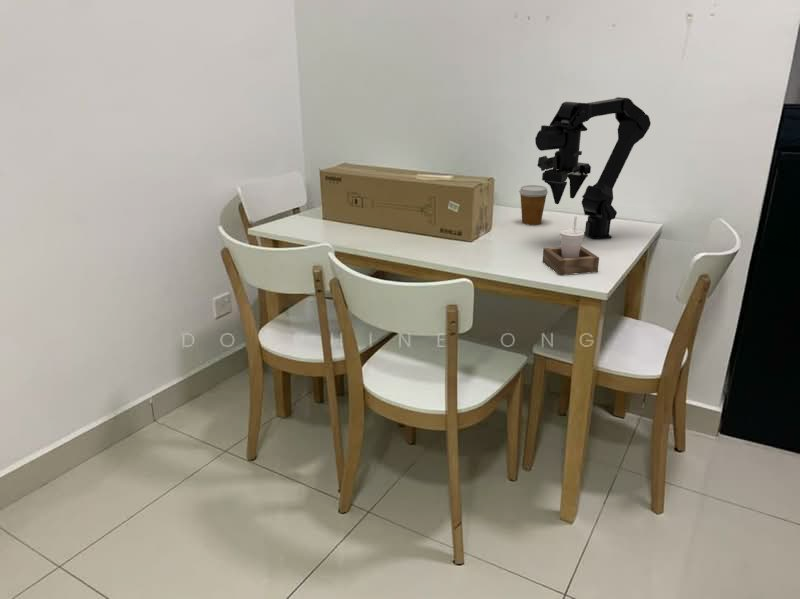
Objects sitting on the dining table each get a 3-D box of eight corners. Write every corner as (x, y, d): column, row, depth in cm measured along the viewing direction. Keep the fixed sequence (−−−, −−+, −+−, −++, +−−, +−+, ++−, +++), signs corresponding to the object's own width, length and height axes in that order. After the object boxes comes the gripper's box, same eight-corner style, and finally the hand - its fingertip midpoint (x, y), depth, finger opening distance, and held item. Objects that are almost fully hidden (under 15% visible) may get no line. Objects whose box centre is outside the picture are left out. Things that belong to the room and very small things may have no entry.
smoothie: (582, 270, 163) (586, 220, 158) (557, 269, 165) (561, 219, 159) (580, 263, 169) (585, 213, 164) (556, 262, 170) (560, 213, 165)
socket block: (579, 258, 173) (580, 245, 171) (597, 271, 163) (599, 257, 161) (542, 261, 171) (543, 248, 169) (558, 275, 161) (560, 260, 159)
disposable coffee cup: (542, 218, 213) (545, 184, 208) (548, 226, 204) (551, 190, 200) (515, 219, 213) (517, 185, 209) (519, 226, 204) (521, 191, 200)
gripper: (560, 141, 187) (555, 191, 193) (527, 149, 175) (524, 202, 181) (594, 144, 180) (588, 196, 186) (562, 153, 168) (558, 208, 174)
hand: (564, 201), depth 182 cm, fingers open, 9 cm apart
